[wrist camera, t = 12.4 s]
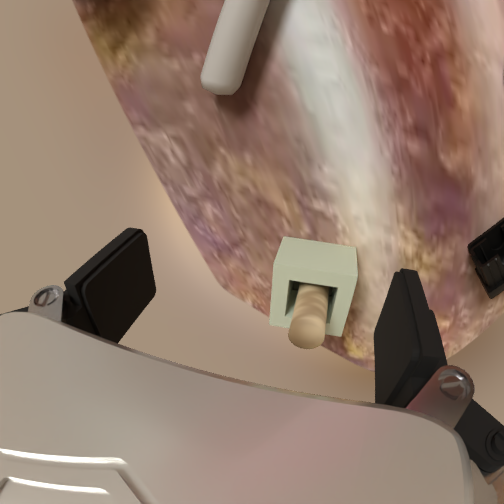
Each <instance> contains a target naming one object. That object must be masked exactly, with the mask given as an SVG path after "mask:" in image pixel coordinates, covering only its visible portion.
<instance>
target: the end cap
mask: <svg viewBox="0 0 504 504" xmlns="http://www.w3.org/2000/svg"><path fill="white" fill-rule="evenodd" d="M468 250H469V252H470V254H471V257H472V259H473V261H474V263H475V265H476V268H475V270H476V273H477V275H478V277H479V279H480V281H481V283H482V285H483V287H484V289H485V291H486V293H487V295H488V296H489V298H490V299H492V298H494V297H495V296H497V295H498V294H500V293H501V292H502V291H504V218H502V219H501V220H500V221H499V222H497V223H496V224H495V225H493V226H492V227H491V228H490V229H488V230H487V231H486V232H484V233H483V234H482V235H480V236H479V237H478V238H476V239H475V240H473V241H472V242H471V243H469V244H468Z"/></svg>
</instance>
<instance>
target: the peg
mask: <svg viewBox="0 0 504 504" xmlns="http://www.w3.org/2000/svg"><path fill="white" fill-rule="evenodd" d="M328 296H329V286H325V285H318V284H312V283H305V282H300V285H299V289H298V294H297V298H296V303H295V307H294V312H293V316H292V320H291V324H290V329H289V333H288V337H289V340H290V341H291V342H292V343H293V344H294V345H295V346H297V347H300V348H303V349H313V348H316V347H318V346H320V345H321V344H322V343H323V341H324V338H325V328H326V318H327V307H328Z"/></svg>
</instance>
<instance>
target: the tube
mask: <svg viewBox="0 0 504 504" xmlns="http://www.w3.org/2000/svg"><path fill="white" fill-rule="evenodd" d="M269 2H270V0H225V2H224V5H223V7H222V10H221V13H220V16H219V19H218V22H217V25H216V28H215V31H214V34H213V37H212V40H211V43H210V46H209V50H208V53H207V56H206V59H205V63H204V66H203V69H202V73H201V76H200V77H201V83H202V88H204V89H206V90H208V91H210V92H212V93H214V94H216V95H233V94H234V93H235V92H236V91H237V89H238V88H239V87H240V86H241V83H242V80H243V77H244V74H245V71H246V68H247V65H248V62H249V59H250V56H251V53H252V50H253V47H254V44H255V41H256V38H257V35H258V32H259V30H260V27H261V24H262V21H263V18H264V16H265V13H266V10H267V8H268V5H269Z"/></svg>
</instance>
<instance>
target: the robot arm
mask: <svg viewBox="0 0 504 504" xmlns="http://www.w3.org/2000/svg"><path fill="white" fill-rule="evenodd" d="M503 74H504V72H503ZM64 284H65V286H66V290H65V291H64V292H63V290H62V288H61V287H59V286H56V285H51V286H46V287H43V288H41V289H40V290H38V291H37V292H36V293H34V295H33V296H32V298H31V300H30V304H29V306H28V307H25V308H21V309H18V310H14V311H11V312H7V313H4V314H1V315H0V504H504V426H503V425H502V424H501V423H500V422H499V421H497V420H496V419H495V418H494V417H493V416H492V415H491V414H489V413H488V412H487V411H486V410H485V409H484V408H482V407H481V406H480V405H479V404H478V403H477V402H475V401H474V400H473V399H472V398H473V395H474V383H473V380H472V378H471V377H470V375H469V374H468V373H467V372H466V371H465V370H463V369H461V368H460V367H457V366H453V365H447V360H446V356H445V352H444V348H443V344H442V340H441V336H440V333H439V329H438V325H437V322H436V318H435V315H434V312H433V311H432V310H429V307H428V304H427V300H426V297H425V294H424V291H423V288H422V284H421V281H420V278H419V275H418V272H417V271H416V270H409V269H403V268H402V269H401V270H400V272H395V273H394V276H393V279H392V282H391V285H390V288H389V291H388V294H387V297H386V300H385V303H384V306H383V309H382V311H381V314H380V317H379V320H378V322H377V325H376V328H375V331H374V354H375V403H370V402H363V401H355V400H347V399H340V398H334V397H327V396H321V395H315V394H308V393H303V392H297V391H292V390H286V389H281V388H276V387H271V386H266V385H261V384H256V383H252V382H247V381H243V380H239V379H234V378H230V377H226V376H222V375H218V374H214V373H210V372H207V371H203V370H199V369H195V368H192V367H188V366H185V365H182V364H178V363H175V362H172V361H168V360H165V359H162V358H159V357H156V356H152V355H149V354H146V353H143V352H140V351H137V350H134V349H131V348H129V347H126V346H123V345H120V344H118V342H119V341H120V340H121V338H122V337H123V336H124V335H125V333H126V332H127V330H128V329H129V328H130V327H131V325H132V324H133V323H134V322H135V320H136V319H137V318H138V316H139V315H140V314H141V313H142V311H143V310H144V308H145V307H146V306H147V305H148V304H149V302H150V301H151V300H152V299H153V297H154V296H155V293H156V286H155V280H154V275H153V270H152V264H151V258H150V253H149V246H148V240H147V235H146V234H145V233H144V232H143V230H141V229H136V228H127V229H126V230H125V231H123V232H122V233H121V234H120V235H119V236H117V237H116V238H115V239H113V240H112V241H111V242H110V243H109V244H107V245H106V246H105V247H104V248H103V249H101V250H100V251H99V252H98V253H97V254H95V255H94V256H93V257H92V258H91V259H90V260H88V261H87V262H86V263H85V264H84V265H82V266H81V267H80V268H79V269H78V270H77V271H76V272H75V273H73V274H72V275H71V276H70V277H69V278H68V279H67V280H66V281H64Z"/></svg>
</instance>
